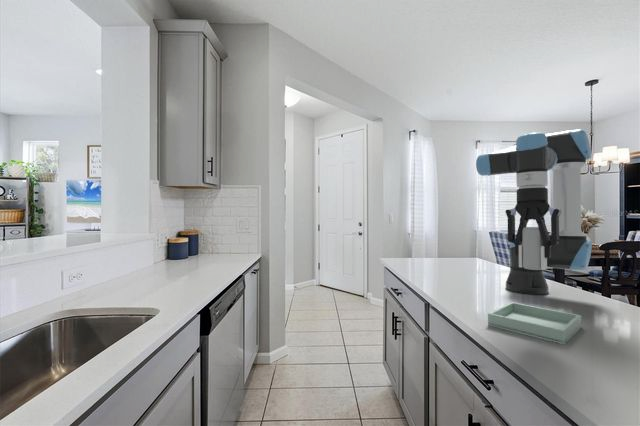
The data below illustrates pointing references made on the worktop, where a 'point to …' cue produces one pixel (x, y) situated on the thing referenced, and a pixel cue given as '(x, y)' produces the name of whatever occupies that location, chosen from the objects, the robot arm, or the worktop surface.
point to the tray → (536, 322)
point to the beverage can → (532, 248)
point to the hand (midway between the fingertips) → (532, 267)
